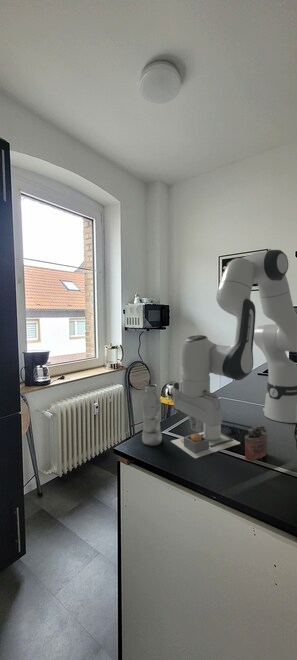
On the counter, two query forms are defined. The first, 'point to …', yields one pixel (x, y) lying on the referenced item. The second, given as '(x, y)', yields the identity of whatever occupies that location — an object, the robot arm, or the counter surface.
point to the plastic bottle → (151, 416)
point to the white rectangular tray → (204, 445)
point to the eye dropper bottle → (212, 432)
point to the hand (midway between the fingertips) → (195, 430)
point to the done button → (196, 437)
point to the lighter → (255, 443)
